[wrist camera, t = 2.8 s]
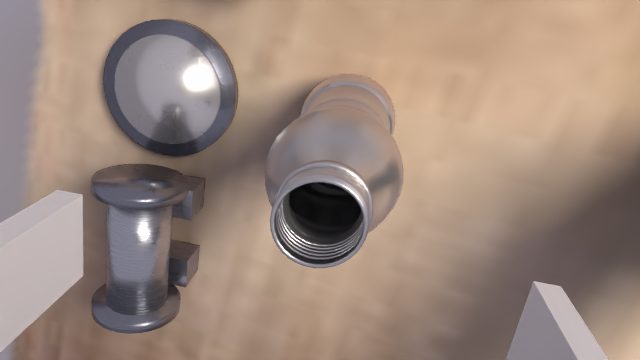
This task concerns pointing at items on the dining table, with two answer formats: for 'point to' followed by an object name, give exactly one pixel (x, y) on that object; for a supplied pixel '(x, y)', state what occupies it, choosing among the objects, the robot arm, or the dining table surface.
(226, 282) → the dining table surface
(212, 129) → the grey metal parts
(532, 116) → the dining table surface
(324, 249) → the plastic bottle
